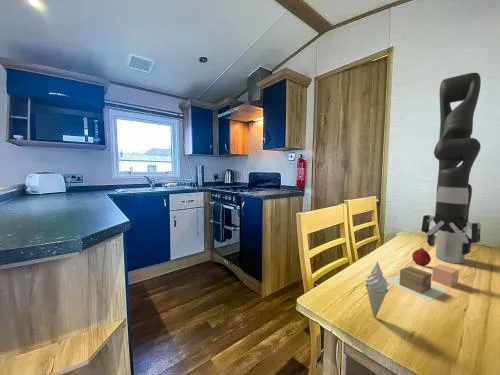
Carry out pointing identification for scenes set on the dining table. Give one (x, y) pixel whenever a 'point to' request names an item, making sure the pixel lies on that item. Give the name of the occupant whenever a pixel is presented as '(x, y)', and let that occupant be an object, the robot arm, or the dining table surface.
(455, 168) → the robot arm
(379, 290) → the ice cream cone
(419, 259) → the red oval piece
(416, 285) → the walnut block
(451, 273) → the terracotta block
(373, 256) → the dining table surface
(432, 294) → the sage board
